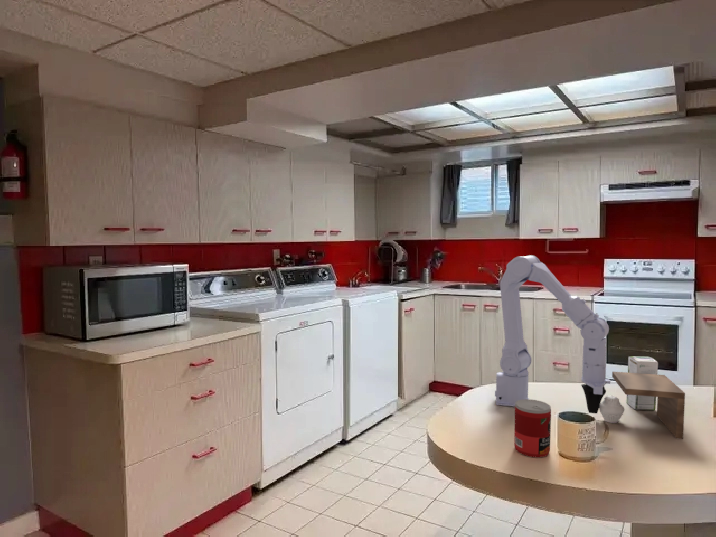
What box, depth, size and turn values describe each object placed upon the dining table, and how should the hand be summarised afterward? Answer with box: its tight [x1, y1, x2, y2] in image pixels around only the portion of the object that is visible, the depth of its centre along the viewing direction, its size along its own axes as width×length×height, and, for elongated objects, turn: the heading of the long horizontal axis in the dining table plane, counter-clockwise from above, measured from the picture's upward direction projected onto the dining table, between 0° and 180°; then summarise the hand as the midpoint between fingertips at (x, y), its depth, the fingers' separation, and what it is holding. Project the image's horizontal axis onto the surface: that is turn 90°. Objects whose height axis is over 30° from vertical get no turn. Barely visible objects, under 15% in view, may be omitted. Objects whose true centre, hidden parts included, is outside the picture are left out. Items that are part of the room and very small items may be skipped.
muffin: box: [599, 395, 625, 424], centre depth 132 cm, size 6×6×7 cm
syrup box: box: [625, 355, 659, 411], centre depth 142 cm, size 6×6×14 cm
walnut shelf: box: [611, 371, 686, 440], centre depth 130 cm, size 13×16×12 cm
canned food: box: [513, 398, 552, 459], centre depth 114 cm, size 8×8×11 cm
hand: (592, 412), depth 134 cm, fingers closed, pressing on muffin
